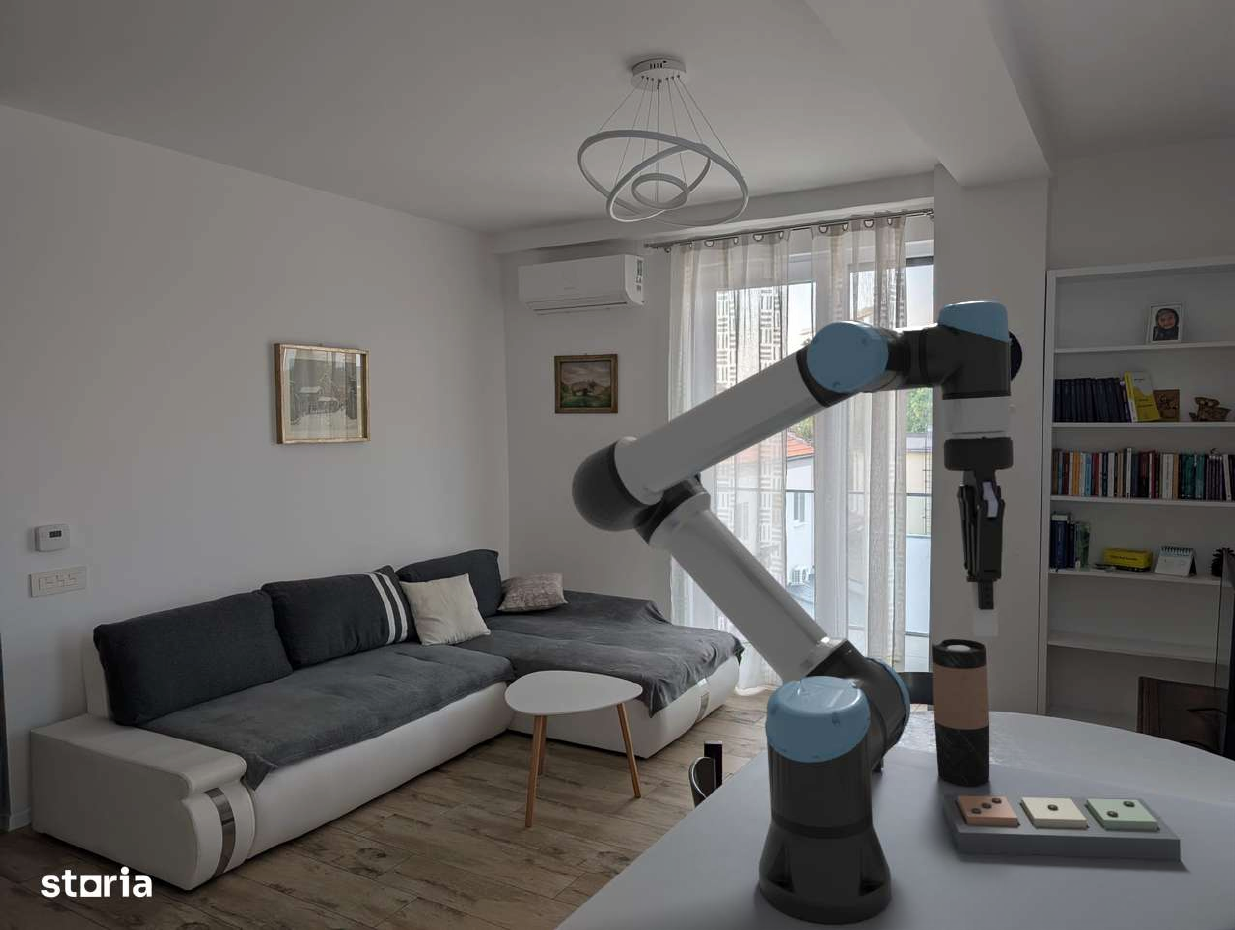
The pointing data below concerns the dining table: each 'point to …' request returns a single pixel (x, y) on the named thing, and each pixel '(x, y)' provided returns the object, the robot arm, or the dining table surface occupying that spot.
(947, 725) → the travel mug
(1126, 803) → the button two
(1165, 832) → the keypad board
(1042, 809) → the button one
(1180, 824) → the dining table surface
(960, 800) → the button three
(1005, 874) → the dining table surface
